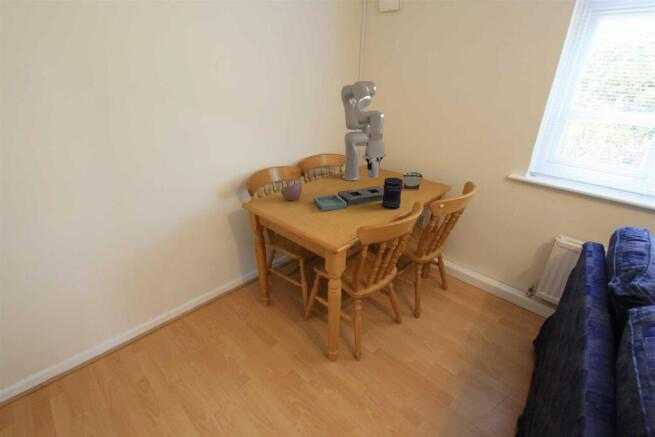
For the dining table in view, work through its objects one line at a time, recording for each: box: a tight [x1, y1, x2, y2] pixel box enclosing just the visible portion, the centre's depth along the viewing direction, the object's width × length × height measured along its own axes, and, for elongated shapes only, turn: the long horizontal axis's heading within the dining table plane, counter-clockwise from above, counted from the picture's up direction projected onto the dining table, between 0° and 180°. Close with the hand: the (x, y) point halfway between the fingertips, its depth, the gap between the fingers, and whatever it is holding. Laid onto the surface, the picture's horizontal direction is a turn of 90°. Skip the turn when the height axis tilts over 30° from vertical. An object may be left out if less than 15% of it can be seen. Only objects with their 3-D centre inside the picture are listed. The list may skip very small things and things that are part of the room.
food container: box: [402, 171, 424, 191], centre depth 193 cm, size 12×6×10 cm, turn 84°
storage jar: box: [381, 177, 404, 210], centre depth 165 cm, size 10×10×15 cm
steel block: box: [367, 159, 380, 179], centre depth 173 cm, size 4×4×9 cm
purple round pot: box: [280, 179, 303, 201], centre depth 174 cm, size 12×12×12 cm
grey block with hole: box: [337, 185, 384, 207], centre depth 178 cm, size 14×28×4 cm, turn 113°
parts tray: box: [313, 193, 348, 213], centre depth 168 cm, size 14×14×3 cm
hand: (373, 168), depth 173 cm, fingers closed on steel block, 4 cm apart
